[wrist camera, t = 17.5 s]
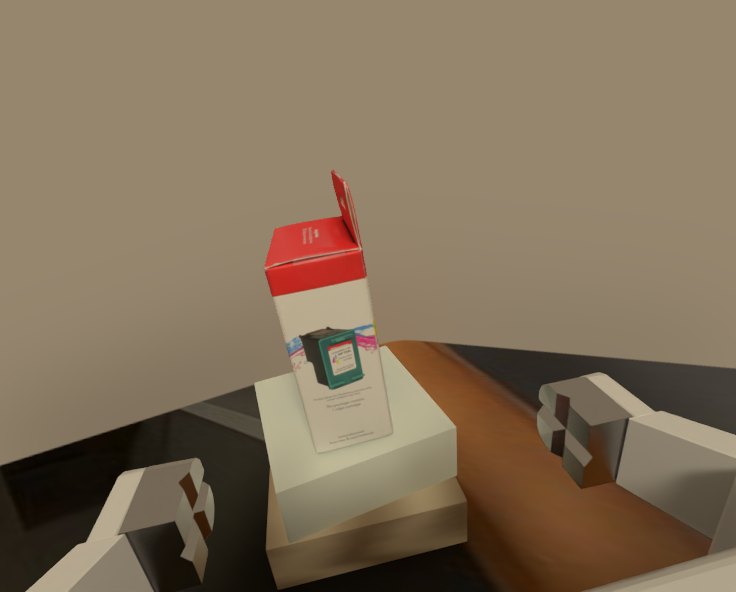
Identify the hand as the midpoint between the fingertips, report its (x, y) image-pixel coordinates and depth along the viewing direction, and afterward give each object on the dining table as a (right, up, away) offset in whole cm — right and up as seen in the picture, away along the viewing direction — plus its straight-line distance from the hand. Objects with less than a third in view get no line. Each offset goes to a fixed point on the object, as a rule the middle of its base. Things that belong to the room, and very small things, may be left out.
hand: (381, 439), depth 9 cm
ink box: (-2, -4, +18) cm, 18 cm away
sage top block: (-2, -8, +20) cm, 21 cm away
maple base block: (-1, -11, +21) cm, 24 cm away
